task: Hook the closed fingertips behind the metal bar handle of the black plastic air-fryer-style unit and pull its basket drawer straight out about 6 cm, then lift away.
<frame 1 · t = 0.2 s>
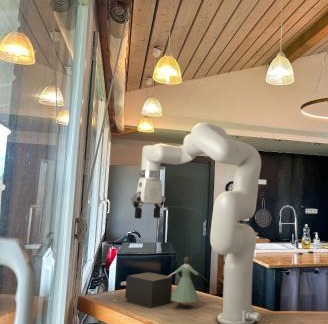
hand: (147, 218, 154), 31 cm above the table, tool pointing down, fingers open, 9 cm apart
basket: (141, 287, 148), point 5 cm above the table, slide at 0.5 cm
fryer: (148, 301, 145), on the table
character figurine: (186, 307, 140), on the table
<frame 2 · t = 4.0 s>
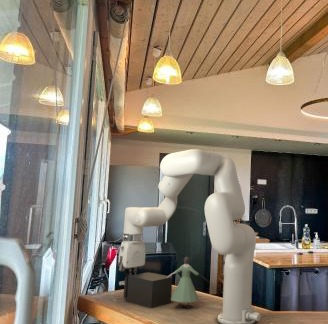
hand: (129, 284, 151), 5 cm above the table, tool pointing down, fingers closed
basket: (139, 286, 148), point 5 cm above the table, slide at 1.5 cm, touching gripper
everything else where it was.
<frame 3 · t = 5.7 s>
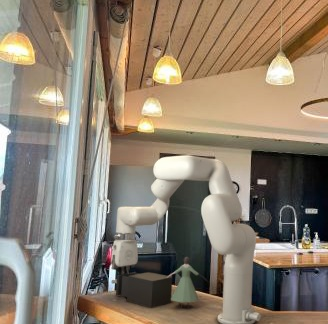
hand: (122, 283, 154), 5 cm above the table, tool pointing down, fingers closed
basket: (131, 284, 151), point 5 cm above the table, slide at 6.2 cm
everything else where it was.
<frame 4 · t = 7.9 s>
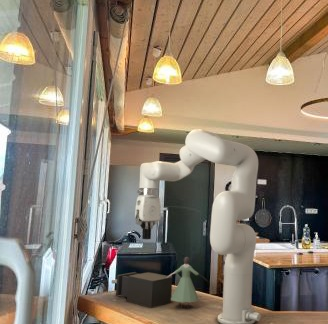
hand: (146, 238, 153), 23 cm above the table, tool pointing down, fingers closed
nothing on the table moved.
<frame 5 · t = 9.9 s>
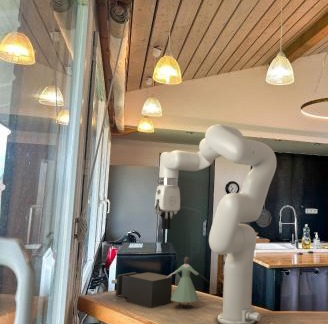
hand: (165, 228, 152), 27 cm above the table, tool pointing down, fingers closed
nothing on the table moved.
at the end: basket slide at 6.1 cm; character figurine moved 0.2 cm from its start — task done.
